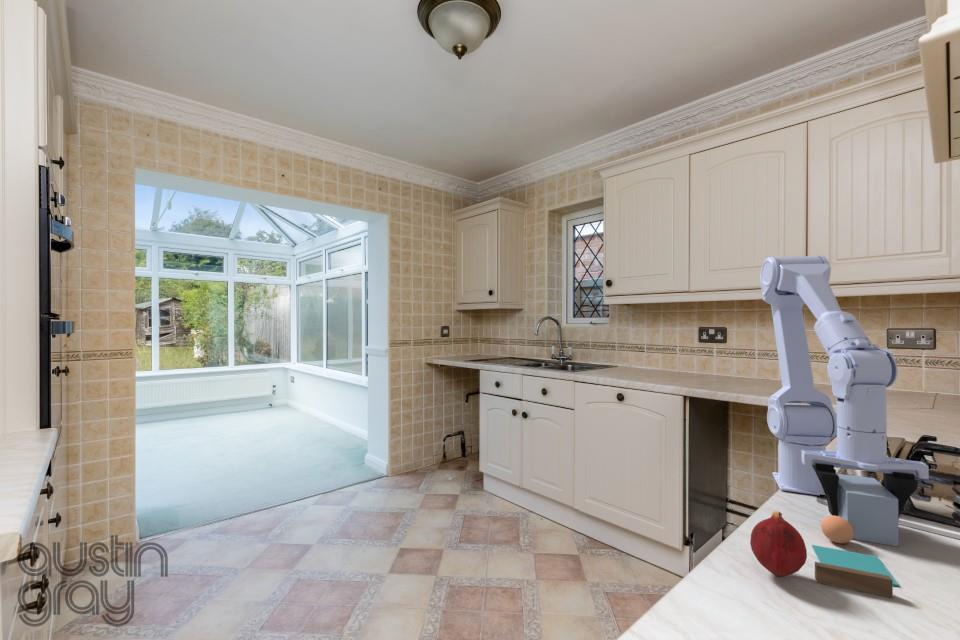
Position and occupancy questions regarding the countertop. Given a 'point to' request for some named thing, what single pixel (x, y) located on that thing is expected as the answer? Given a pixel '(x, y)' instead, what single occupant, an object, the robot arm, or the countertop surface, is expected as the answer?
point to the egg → (837, 529)
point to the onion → (778, 546)
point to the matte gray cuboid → (868, 509)
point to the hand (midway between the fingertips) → (861, 517)
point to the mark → (851, 560)
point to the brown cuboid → (854, 579)
